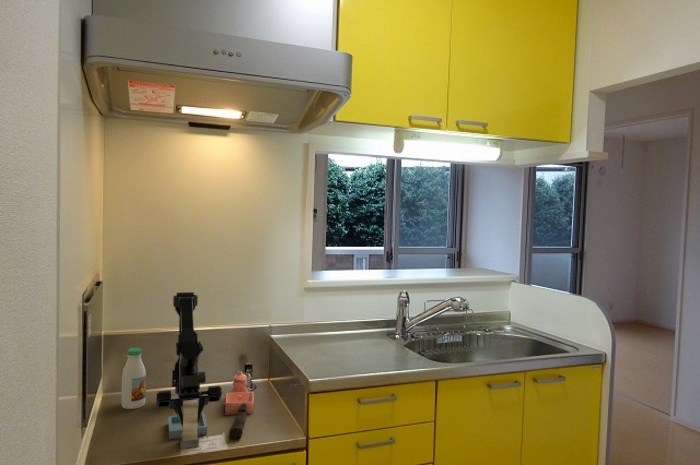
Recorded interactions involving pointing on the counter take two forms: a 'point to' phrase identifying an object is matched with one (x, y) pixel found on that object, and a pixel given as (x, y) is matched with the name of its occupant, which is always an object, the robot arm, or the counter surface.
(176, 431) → the tray
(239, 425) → the hand tool
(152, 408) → the counter surface
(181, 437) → the beige pillar on base
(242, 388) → the pottery
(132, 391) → the milk bottle
